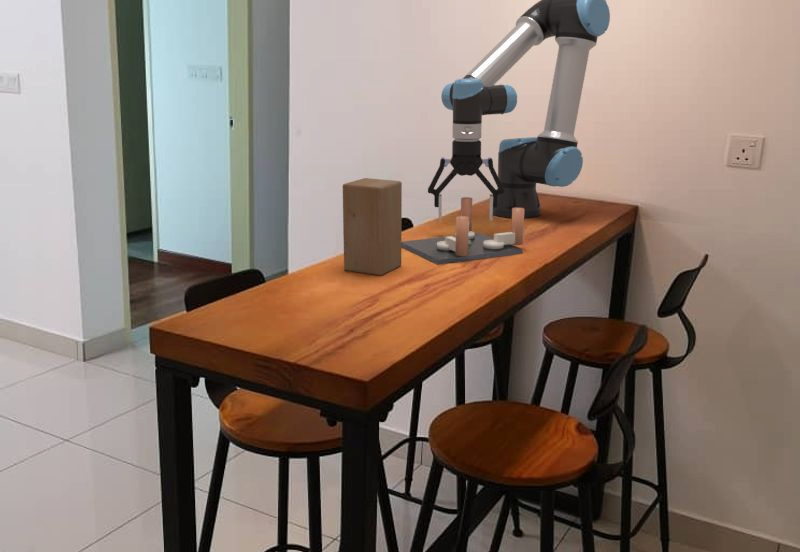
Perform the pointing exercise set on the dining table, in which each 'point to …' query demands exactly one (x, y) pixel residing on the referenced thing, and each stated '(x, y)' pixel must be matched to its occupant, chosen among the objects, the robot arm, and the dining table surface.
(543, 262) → the dining table surface
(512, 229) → the knob
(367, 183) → the wooden block
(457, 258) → the base plate
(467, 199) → the knob
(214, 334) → the dining table surface
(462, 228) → the knob
